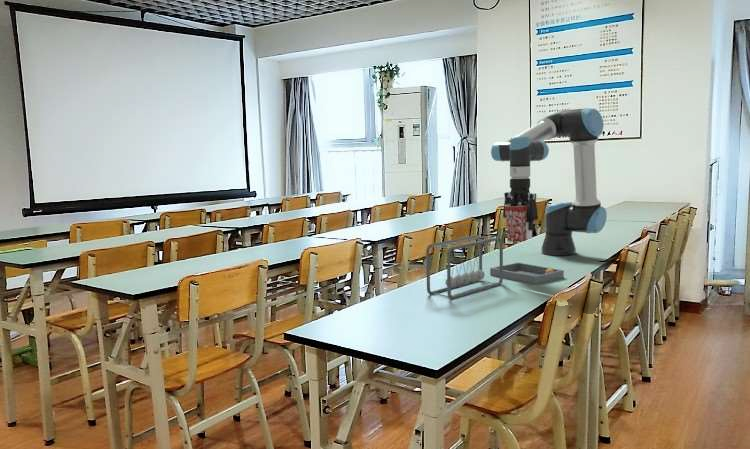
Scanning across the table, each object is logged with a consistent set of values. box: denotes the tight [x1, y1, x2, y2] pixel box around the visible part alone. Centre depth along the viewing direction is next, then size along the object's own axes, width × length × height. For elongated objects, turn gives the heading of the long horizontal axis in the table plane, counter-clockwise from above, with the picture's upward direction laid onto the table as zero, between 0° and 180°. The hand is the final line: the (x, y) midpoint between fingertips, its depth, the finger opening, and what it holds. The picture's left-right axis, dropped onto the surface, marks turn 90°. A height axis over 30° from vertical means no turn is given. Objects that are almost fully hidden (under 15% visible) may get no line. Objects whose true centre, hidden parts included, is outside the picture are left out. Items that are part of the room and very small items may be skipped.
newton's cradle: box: [425, 234, 504, 300], centre depth 210 cm, size 30×10×18 cm, turn 132°
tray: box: [489, 262, 565, 285], centre depth 226 cm, size 16×22×3 cm
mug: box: [505, 203, 529, 242], centre depth 226 cm, size 13×9×14 cm
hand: (520, 237), depth 227 cm, fingers closed on mug, 8 cm apart
